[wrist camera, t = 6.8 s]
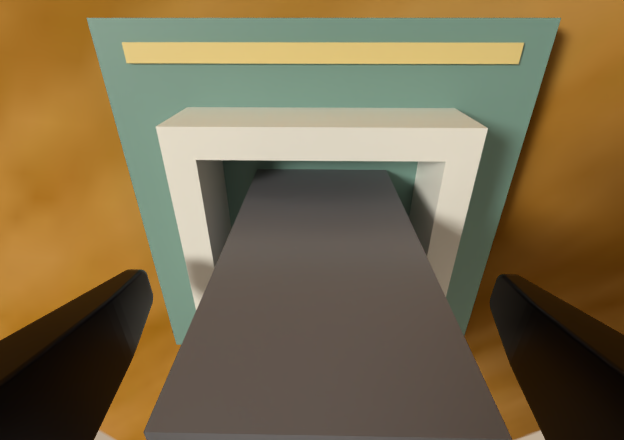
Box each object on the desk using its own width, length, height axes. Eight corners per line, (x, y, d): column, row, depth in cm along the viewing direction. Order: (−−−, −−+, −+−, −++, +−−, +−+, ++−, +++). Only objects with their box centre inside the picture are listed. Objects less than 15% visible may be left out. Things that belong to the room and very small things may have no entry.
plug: (386, 169, 11) (516, 449, 4) (373, 283, 13) (439, 594, 6) (257, 168, 11) (139, 442, 4) (266, 282, 13) (203, 588, 6)
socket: (454, 108, 10) (487, 128, 8) (415, 308, 13) (431, 355, 12) (187, 107, 10) (155, 126, 8) (221, 306, 14) (205, 352, 12)
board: (538, 18, 10) (563, 17, 9) (452, 330, 15) (461, 350, 14) (107, 18, 10) (84, 17, 9) (184, 326, 16) (175, 346, 15)
